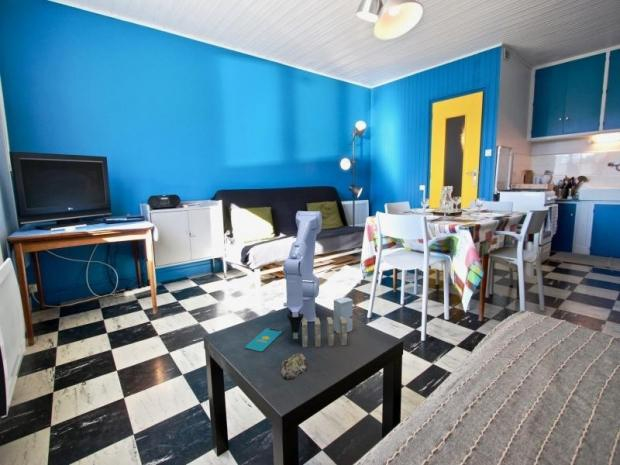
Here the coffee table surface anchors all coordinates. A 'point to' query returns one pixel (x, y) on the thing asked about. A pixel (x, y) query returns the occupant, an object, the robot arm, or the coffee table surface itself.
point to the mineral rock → (293, 366)
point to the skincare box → (343, 313)
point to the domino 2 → (304, 332)
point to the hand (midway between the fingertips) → (295, 327)
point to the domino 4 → (330, 331)
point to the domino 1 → (295, 335)
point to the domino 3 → (317, 332)
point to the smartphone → (263, 340)
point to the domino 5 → (343, 331)
